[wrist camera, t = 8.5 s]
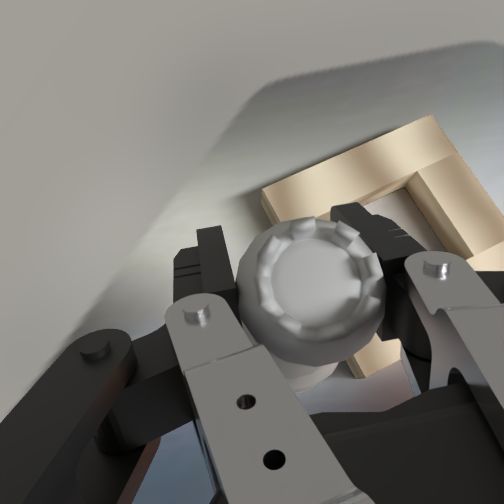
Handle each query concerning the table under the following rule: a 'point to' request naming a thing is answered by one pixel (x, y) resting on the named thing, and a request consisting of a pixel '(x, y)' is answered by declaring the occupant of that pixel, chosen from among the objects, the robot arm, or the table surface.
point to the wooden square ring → (421, 190)
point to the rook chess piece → (310, 296)
